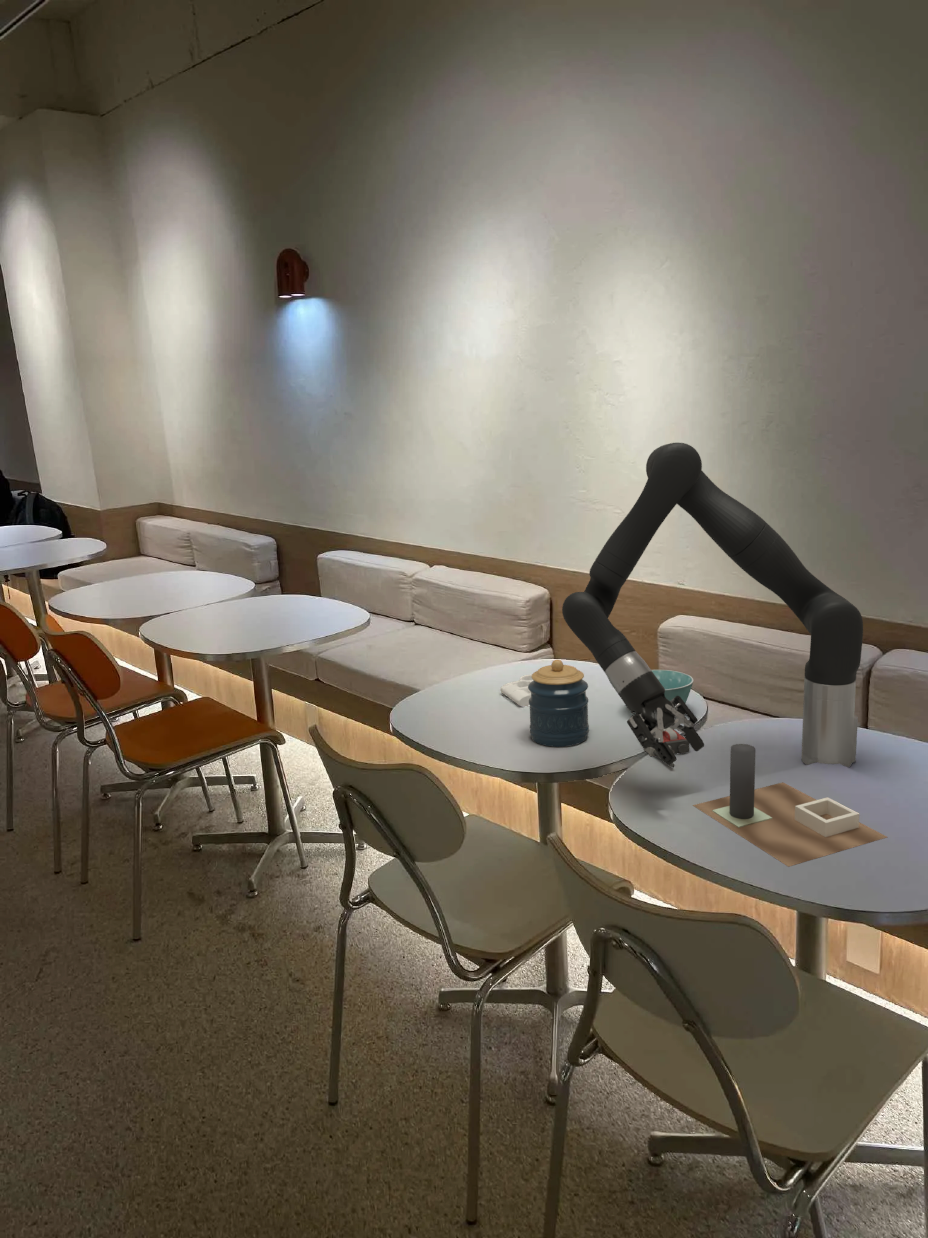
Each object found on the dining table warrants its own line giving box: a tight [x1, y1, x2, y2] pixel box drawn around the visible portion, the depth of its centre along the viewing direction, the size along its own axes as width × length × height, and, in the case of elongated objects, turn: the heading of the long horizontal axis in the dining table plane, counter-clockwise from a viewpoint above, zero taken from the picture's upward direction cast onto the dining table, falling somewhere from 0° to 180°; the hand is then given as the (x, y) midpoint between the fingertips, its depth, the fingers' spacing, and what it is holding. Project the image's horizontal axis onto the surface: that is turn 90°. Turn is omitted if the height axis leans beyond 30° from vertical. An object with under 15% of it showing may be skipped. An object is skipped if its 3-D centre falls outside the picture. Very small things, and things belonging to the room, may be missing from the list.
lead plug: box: [729, 743, 757, 819], centre depth 152 cm, size 4×4×12 cm
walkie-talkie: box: [643, 728, 690, 768], centre depth 187 cm, size 9×4×20 cm
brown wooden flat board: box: [692, 782, 888, 868], centre depth 151 cm, size 20×24×2 cm
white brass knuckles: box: [500, 673, 533, 708], centre depth 225 cm, size 3×18×15 cm
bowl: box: [651, 669, 694, 705], centre depth 208 cm, size 16×16×8 cm
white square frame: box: [795, 796, 861, 837], centre depth 149 cm, size 7×7×2 cm
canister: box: [528, 659, 590, 748], centre depth 195 cm, size 13×13×18 cm
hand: (686, 755), depth 160 cm, fingers open, 8 cm apart
